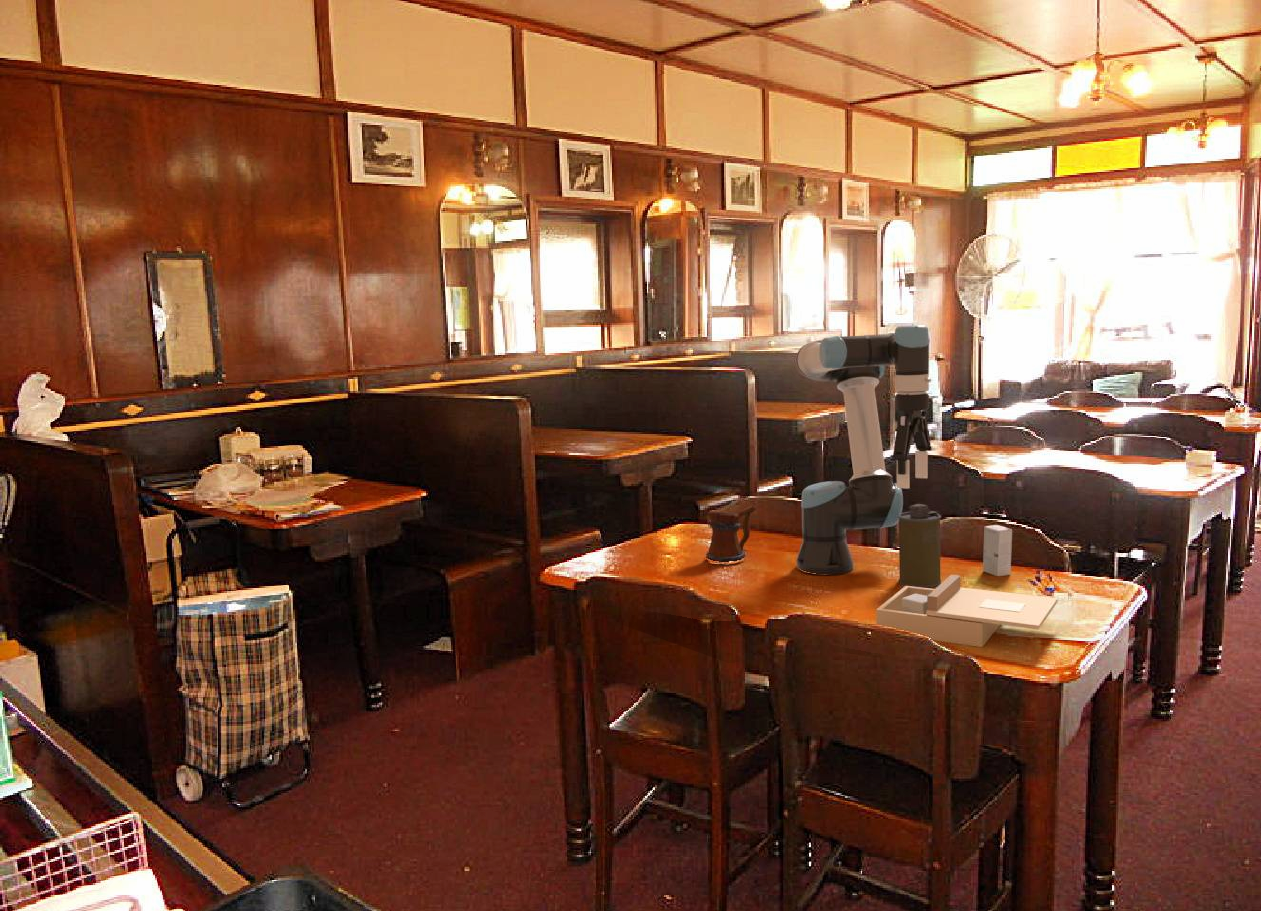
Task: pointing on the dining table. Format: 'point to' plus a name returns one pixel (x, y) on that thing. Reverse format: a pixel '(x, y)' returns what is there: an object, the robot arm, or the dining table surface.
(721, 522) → the mug
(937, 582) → the canister
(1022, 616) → the lid
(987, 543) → the skincare box
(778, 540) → the dining table surface
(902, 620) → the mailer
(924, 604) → the small box
